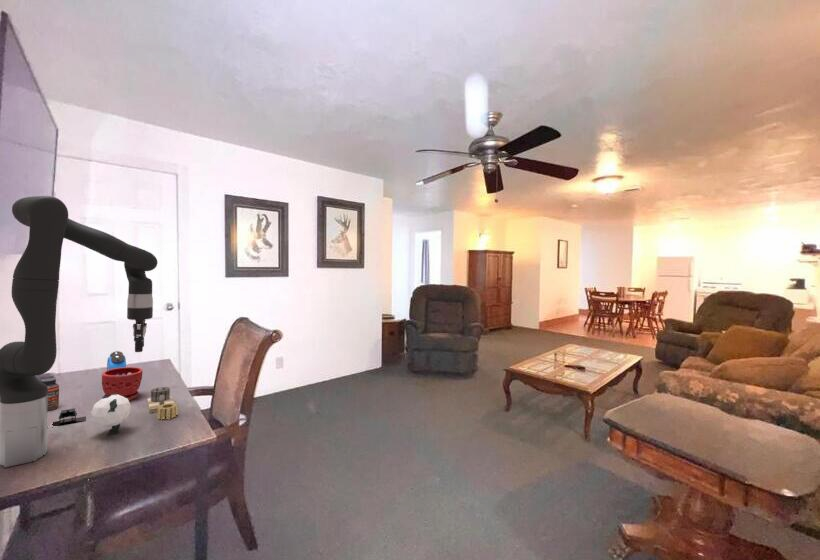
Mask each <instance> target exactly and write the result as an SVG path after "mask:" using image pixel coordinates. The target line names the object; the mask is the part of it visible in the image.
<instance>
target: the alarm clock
mask: <svg viewBox="0 0 820 560" xmlns="http://www.w3.org/2000/svg"><path fill="white" fill-rule="evenodd" d="M106 362H107V363H106V371H107V370H110V369H114V368H122V367H127V360H126V356H125V355H124V353H123V352H122V351H120V350H115V351H113V352H111V353H110V354H109V357H107V361H106ZM116 375H119V374H116ZM122 375H125V373H123V374H122Z"/></svg>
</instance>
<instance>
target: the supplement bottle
mask: <svg viewBox="0 0 820 560" xmlns="http://www.w3.org/2000/svg"><path fill="white" fill-rule="evenodd" d="M41 382H42V383H44V384H46V385H47V387H48V403H47V412H48V411H53V410H56V409H58V408H59V402H60V385H59V384H58V382H57V379H56V378H54V377H51V378H50V377H48V378H44V379H41Z"/></svg>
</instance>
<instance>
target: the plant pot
mask: <svg viewBox="0 0 820 560" xmlns="http://www.w3.org/2000/svg"><path fill="white" fill-rule="evenodd" d="M123 373H125V375H122V374H123ZM116 374H119V375H116ZM142 379H143V369H142V368H141V367H134V366H126V367H122V368H114V369H110V370H107V369H106V370H105V371H103V372H102V373H101V388H102V391H103V393H104V395H103V396H102V397H104V396H107V394H109V395H112V394H115V393H117V394H118V395H120V396H123V397H125V398H127V399H128V400H129V401H132V400H133V399H135V398H137V397H138V396H139V393H140V392H139V391H138V390H139V389H140V386H141V383H142Z"/></svg>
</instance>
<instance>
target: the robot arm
mask: <svg viewBox="0 0 820 560" xmlns="http://www.w3.org/2000/svg"><path fill="white" fill-rule="evenodd" d="M11 213H12V215H13V217H14V219H16V220H17V221H18V222H19V223H20V224H22V225H24V226H26V227H28V228H29V232H28V233H29V234H28V235H29V236H28V241H27V244H26V248H25V250H24V251H23V253H22V254H21V257H20V258H19V260H18V262H17V264H16V266H15V268H14V270H13V274H12V281H11V299H12V301H13V304H14V306H15V307H16V310H17V312H18V313H19V315H20V317H21V318H22V321H23V324H24V330H25V331H24V341H12V342H9V343H7V344H6V343H5V344H4V345H3V346H2V347H1V348H0V466H3V468H4V467H5V468H9V467H13V466H17V465H18V466H19V465H23V464H27V463H28V464H29V463H32V461H33V462H36V461H38V459H40V458H42V457H43V455H44V456H45V455H47V453H46V452H48V411H47V403H48V387H47V385H46V384H44V383H42V382H41V381H40V380H39V379H38V378H37V376H42V375H44V374H46V373H48V372H49V371H50V370H51V369H52V368H53V366H54V364H55V362H56V359H57V351H58V350H57V349H58V348H57V329H56V321H57V320H56V318H57V304H58V303H57V301H58V295H59V285H60V270H61V269H60V268H61V260H62V248H63V241H64V239H65V240H68V241H71V242H73V243H76V244H78V245H80V246H82V247H85V248H86V249H89V250H91V251H93V252H96V253H97V254H100V255H101V256H103V257H107V258H109V259H111V260H114V261H117V262H121V263H123V266H124V271H125V274H126V278H127V281H128V293H127V294H128V295H127V300H126V301H127V302H126V303H127V304H126V305H127V306H126V308H127V310H126V311H127V312H126V318H127V319H128V320H130V321H135V323H133V324H132V329H133V331H132V332H133V334H132V336H133V337H134V338H133V342H134V352H135V353H142V352H143V351H144V350H143V349H144V346H145V336H146V334H147V333H146V332H147V325H148V323H147V322H146V320H150V319H153V317H154V316H153V315H154V313H153V311H154V309H153V308H154V300H153V299H154V298H153V280H152V279H151V278H149V277H148V276H147V274H146V272H151V271H154V269H156V268H157V266H158V258H157V257H156V256H155V255H154V254H153V253H152V252H149V251H148V250H145V249H143V248H140V247H138V246H134V245H132V244H129V243H127V242H125V241H123V240H122V239H119V238H117V237H116V236H114V235H113V234H109V233H107V232H105V231H102V230H99V229H96V228H93V227H90V226H88V225H84V224H82V223H80V222H77V221H76V220H75V221H74V220H73V219H70V218H69V211H68V208H67V205H66V204H65V203H64V202H63V201H62V200H61V199H59V198H57V197H56V196H51V195H37V196H36V195H35V196H26V197H22V198H19V199H18V200H16V201H15V202H14V203H13V204H12V207H11Z"/></svg>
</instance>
